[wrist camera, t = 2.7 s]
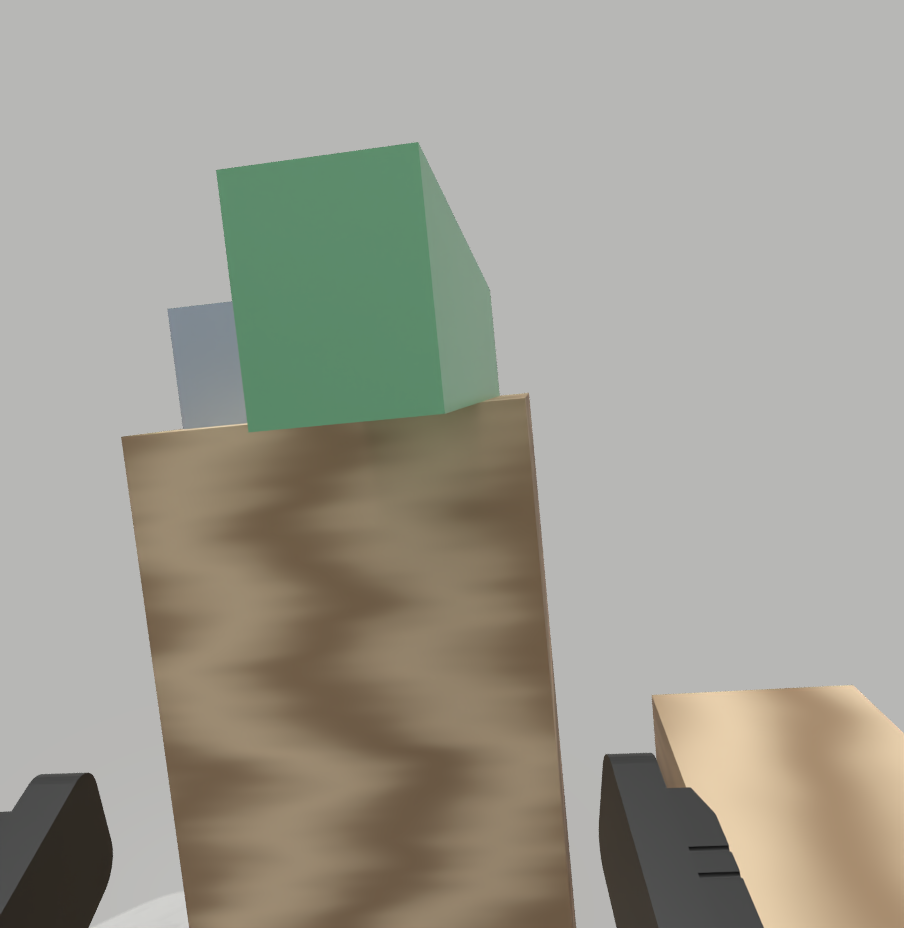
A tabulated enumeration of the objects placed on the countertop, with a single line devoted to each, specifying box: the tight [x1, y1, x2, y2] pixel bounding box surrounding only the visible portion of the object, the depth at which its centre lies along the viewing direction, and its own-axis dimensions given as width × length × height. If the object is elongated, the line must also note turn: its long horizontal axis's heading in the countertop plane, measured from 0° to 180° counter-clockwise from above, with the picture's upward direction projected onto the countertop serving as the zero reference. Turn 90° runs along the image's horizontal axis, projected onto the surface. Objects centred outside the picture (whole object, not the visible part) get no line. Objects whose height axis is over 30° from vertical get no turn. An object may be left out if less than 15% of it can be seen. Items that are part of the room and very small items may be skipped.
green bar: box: [216, 142, 500, 433], centre depth 23 cm, size 4×20×4 cm, turn 174°
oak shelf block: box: [121, 393, 576, 928], centre depth 29 cm, size 12×12×32 cm
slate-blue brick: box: [168, 301, 247, 429], centre depth 28 cm, size 4×6×4 cm, turn 174°
